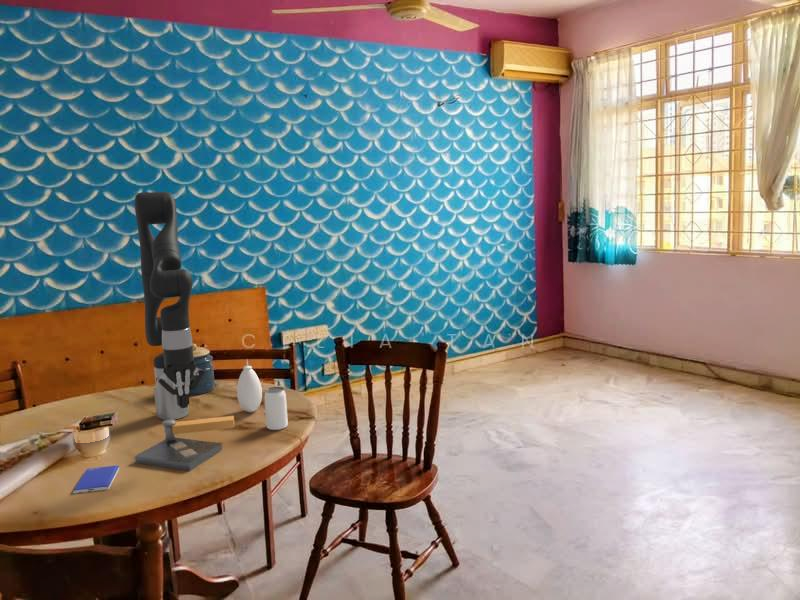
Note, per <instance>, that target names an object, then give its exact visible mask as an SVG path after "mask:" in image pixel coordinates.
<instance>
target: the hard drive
mask: <svg viewBox="0 0 800 600" xmlns="http://www.w3.org/2000/svg"><path fill="white" fill-rule="evenodd" d="M119 470H120V465H118V464H117V465H116V464H115V465H109V466H101V467H92V468H87V469H86V470H85V471H84V473H83V475H82V476H81V477H80V479H79V480H78V482H77V484H76V486H75V487H74V489H73V490H72V491H73V493H72V494H80V493H79V492H82V493H88V491H91V492H96V491H97V492H99V491H105V490H110V488H111V486H112V484H113V482H114V481H115V478H116V476H117V474H118V473H119ZM98 490H99V491H98Z"/></svg>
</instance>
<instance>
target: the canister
mask: <svg viewBox="0 0 800 600" xmlns="http://www.w3.org/2000/svg"><path fill="white" fill-rule="evenodd" d="M192 344H193V355H194V363H195V364H196V367H197V368H198V369H201V370H203V371H204V372H205V373H204V375H203V376H202V378H201V380H200V382H199V383H198V385H197V387H196V388H195V390H192V391H190V392H189V396H195V395H196V396H197V395H202V394H207V393H209V392H212V391H213V390H214V389H215V388H216V387H215V385H216V381H215V374H214V372H215V371H214V364H213V363H212V360H213V359H214V358H213V356H212V354H211V353H210V352H211V351H210V350H209V349H207V348H205V347H203V346H201V347H200V346H197V344H196V343H192ZM210 354H211V355H210ZM193 376H194V373H193V375H192V377H191V378H190V381H191V379H192V378H193Z"/></svg>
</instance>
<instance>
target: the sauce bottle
mask: <svg viewBox="0 0 800 600" xmlns="http://www.w3.org/2000/svg"><path fill="white" fill-rule="evenodd" d="M248 361H249V360H248V359H246V365H245V366H243V368H242V371H241V373H240V375H239V377H238V381H237V387H236V394H237V396H236V397H237V402H238V403H239V404H238V405H239V406H240V407H241V409H242V410H245V412H248V413H254V412H255V411H257V409H258V408H259V407H260V406H261V403H262V399H263V389H262V383H261V381H260V379H259V377H258V375H257V373H256V371H255V370H254V369H253V367H252V366H251V365H249V362H248Z"/></svg>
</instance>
